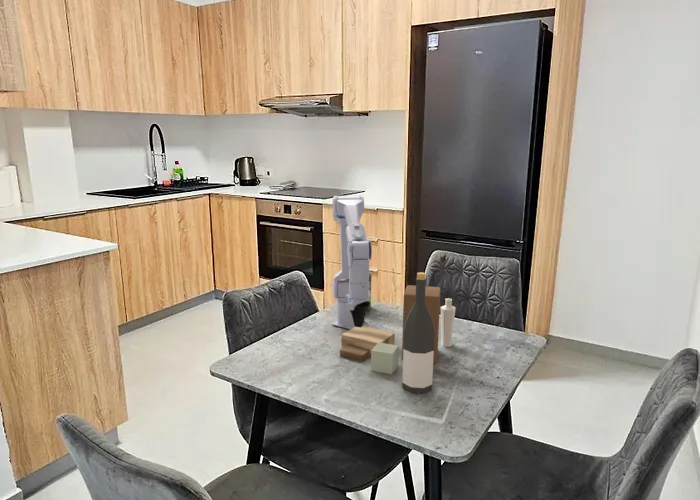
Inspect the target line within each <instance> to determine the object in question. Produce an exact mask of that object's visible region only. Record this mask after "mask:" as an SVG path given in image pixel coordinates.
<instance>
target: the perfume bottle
mask: <svg viewBox="0 0 700 500" xmlns="http://www.w3.org/2000/svg"><path fill="white" fill-rule="evenodd" d="M452 301H453V299H452V298H450V297H448V298H445V304H444V305H442V306H440V338H441V339H440V340H441V341H440V345H441V346H442V347H446V348H451V347H452V345H453V341H452V340H453V334H454V333H453V332H454V324H455V318H456V317H455V315H456V309H457V307H455V306H454V305H452V304H453V302H452Z"/></svg>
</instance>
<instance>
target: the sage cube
mask: <svg viewBox="0 0 700 500" xmlns="http://www.w3.org/2000/svg"><path fill="white" fill-rule="evenodd" d="M399 349H400V347H399V345H398V344H397V345H395V344H394V345H391V344H385V343H377V344H376V346H375V347H374V348H373V349H372V350H371V356H370V371H371V372H378V373H383V374H387V375H388V374H389V375H393V373H394V372H395V371H396V369H397V368H398V366H399Z"/></svg>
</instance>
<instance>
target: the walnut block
mask: <svg viewBox="0 0 700 500" xmlns="http://www.w3.org/2000/svg"><path fill="white" fill-rule="evenodd" d="M339 357H342V358H346V359H350V360H353V361H357V362H360V363H362V362H364V361H366V360H367V359H368V358H371V350H370V349H366V348H363V347H359V346H355V345H351V344H348V345H347V346H345V347H344V348H342V347H341V349H339Z"/></svg>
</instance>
